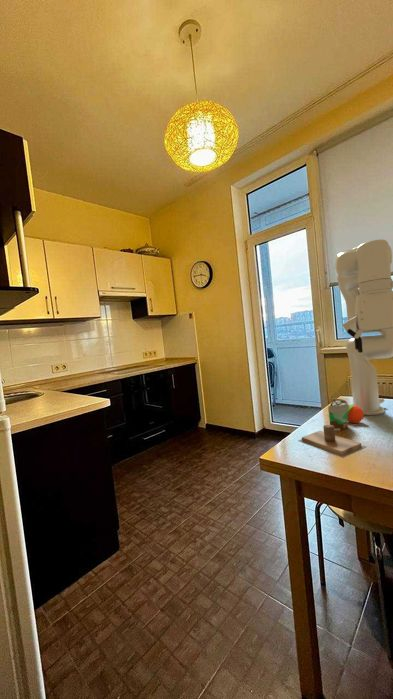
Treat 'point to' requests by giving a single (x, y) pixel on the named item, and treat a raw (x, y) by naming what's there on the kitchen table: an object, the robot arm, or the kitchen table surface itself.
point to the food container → (338, 414)
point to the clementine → (354, 414)
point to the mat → (333, 452)
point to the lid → (331, 441)
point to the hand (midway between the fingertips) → (379, 350)
